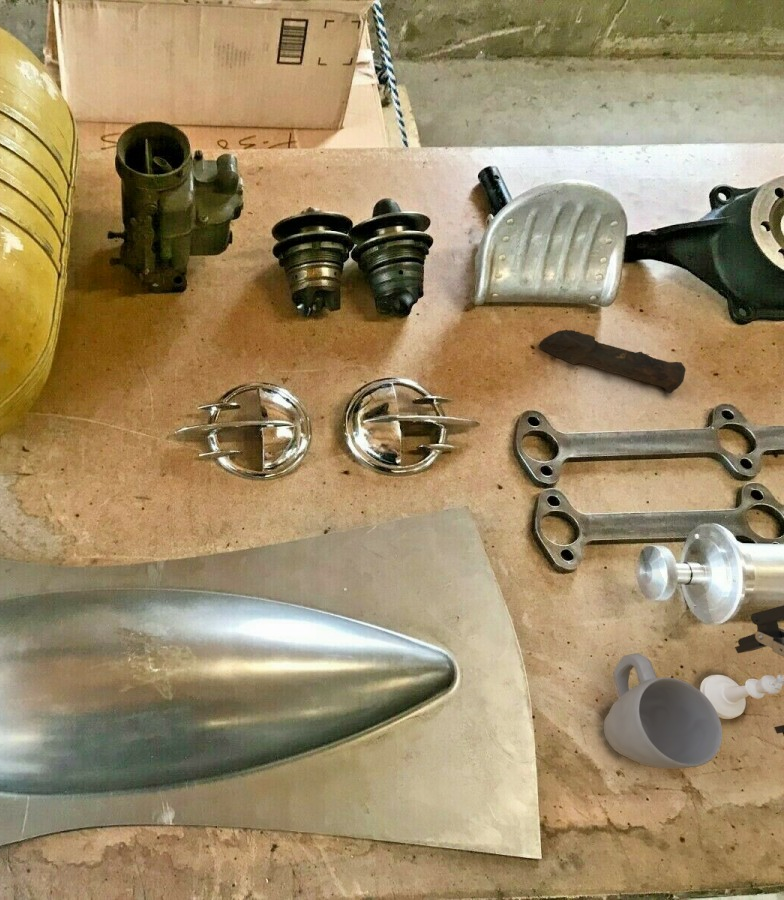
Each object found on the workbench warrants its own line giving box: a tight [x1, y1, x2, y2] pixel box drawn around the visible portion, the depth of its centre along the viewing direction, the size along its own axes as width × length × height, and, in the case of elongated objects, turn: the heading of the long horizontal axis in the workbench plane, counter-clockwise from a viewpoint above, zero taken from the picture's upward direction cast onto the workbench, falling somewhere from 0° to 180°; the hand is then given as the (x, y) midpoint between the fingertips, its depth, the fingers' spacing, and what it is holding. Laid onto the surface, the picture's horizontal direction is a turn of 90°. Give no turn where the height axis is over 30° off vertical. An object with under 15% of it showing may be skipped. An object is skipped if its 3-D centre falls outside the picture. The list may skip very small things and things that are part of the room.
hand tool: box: [538, 329, 687, 394], centre depth 110 cm, size 19×4×5 cm, turn 70°
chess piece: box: [699, 673, 784, 720], centre depth 87 cm, size 5×5×10 cm
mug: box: [603, 652, 723, 770], centre depth 85 cm, size 12×9×10 cm
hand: (762, 687), depth 85 cm, fingers open, 8 cm apart
